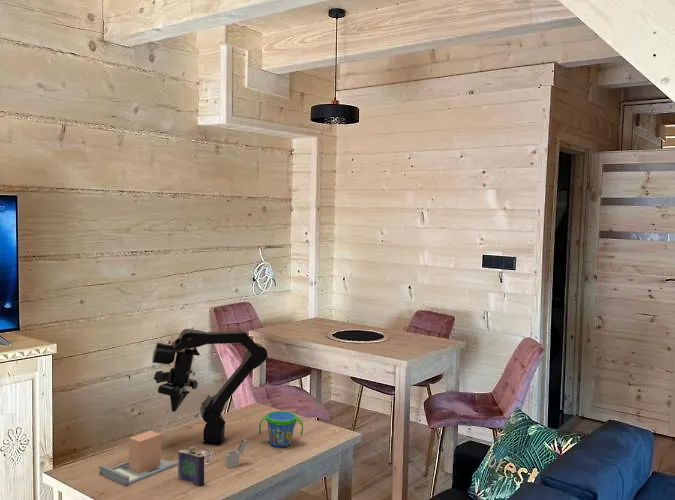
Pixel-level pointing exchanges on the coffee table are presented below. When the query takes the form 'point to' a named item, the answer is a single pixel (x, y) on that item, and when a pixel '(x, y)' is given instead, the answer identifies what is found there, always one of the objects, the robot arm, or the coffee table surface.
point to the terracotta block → (144, 451)
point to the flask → (191, 466)
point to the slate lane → (132, 472)
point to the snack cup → (281, 427)
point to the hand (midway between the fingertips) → (173, 411)
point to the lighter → (235, 455)
